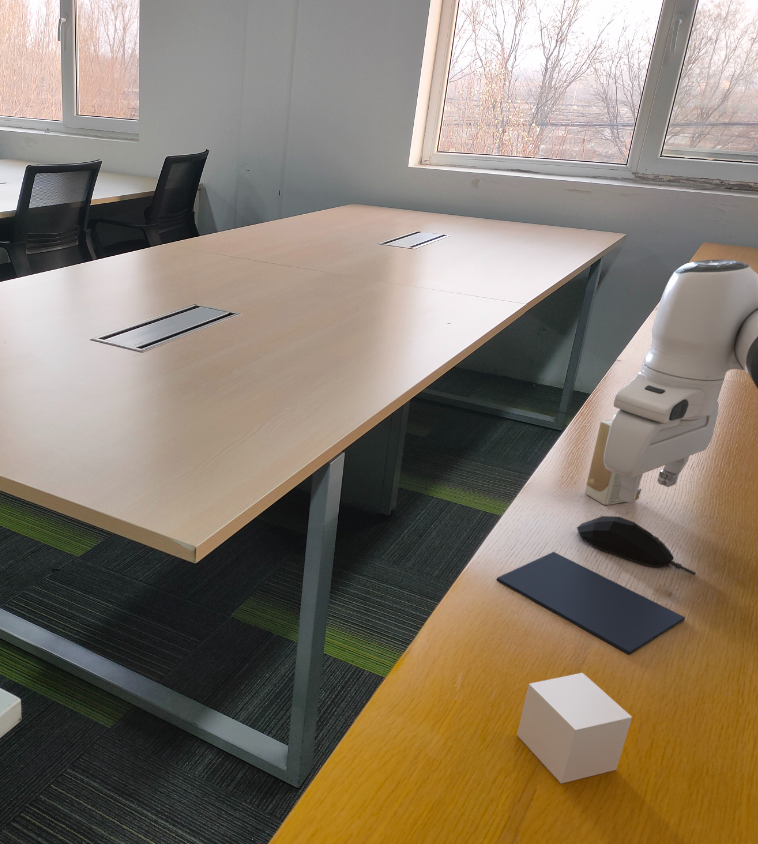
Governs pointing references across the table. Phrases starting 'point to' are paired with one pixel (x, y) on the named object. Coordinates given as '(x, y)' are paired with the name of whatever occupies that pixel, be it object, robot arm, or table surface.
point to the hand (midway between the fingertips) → (647, 492)
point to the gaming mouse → (627, 541)
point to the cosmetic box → (603, 472)
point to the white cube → (573, 727)
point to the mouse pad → (592, 601)
